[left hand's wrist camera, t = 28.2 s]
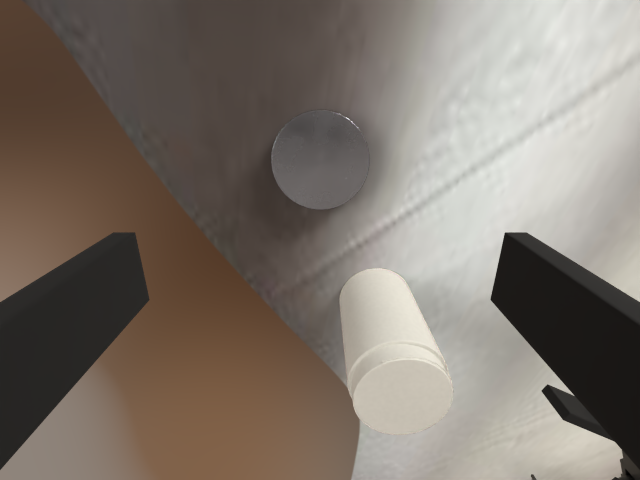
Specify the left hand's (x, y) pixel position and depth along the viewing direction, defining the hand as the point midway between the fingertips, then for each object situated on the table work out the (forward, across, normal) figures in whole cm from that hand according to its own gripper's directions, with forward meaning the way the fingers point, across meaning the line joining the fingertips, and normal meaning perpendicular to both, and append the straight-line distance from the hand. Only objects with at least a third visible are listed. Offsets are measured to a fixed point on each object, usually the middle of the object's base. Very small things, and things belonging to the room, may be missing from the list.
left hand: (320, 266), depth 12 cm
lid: (+25, 0, 0) cm, 25 cm away
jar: (+27, +7, -18) cm, 33 cm away
